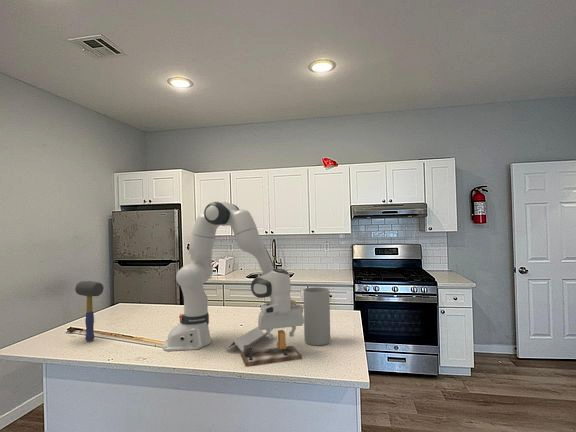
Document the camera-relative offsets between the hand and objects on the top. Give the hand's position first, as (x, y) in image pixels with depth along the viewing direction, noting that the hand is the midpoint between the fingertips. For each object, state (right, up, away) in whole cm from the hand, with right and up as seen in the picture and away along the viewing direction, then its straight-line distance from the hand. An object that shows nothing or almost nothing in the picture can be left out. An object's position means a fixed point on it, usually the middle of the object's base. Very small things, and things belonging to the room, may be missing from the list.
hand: (281, 337), depth 152 cm
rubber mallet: (-97, -9, +21) cm, 99 cm away
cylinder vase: (+17, -7, +15) cm, 24 cm away
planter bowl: (0, -8, +50) cm, 51 cm away
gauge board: (-5, -7, -4) cm, 9 cm away
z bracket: (-15, -7, +12) cm, 21 cm away
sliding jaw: (+1, -5, -2) cm, 6 cm away
